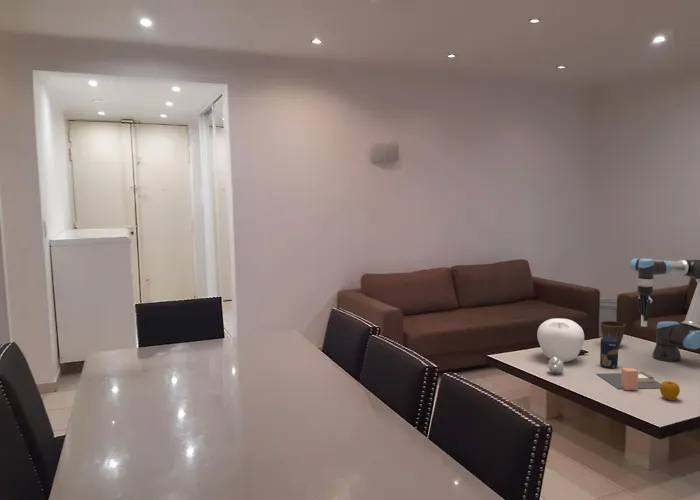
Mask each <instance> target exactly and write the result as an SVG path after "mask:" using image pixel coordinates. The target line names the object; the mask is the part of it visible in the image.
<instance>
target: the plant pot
mask: <svg viewBox="0 0 700 500" xmlns="http://www.w3.org/2000/svg"><path fill="white" fill-rule="evenodd" d="M625 329H626V323H624V322H620V321H612V320H606V321H605V320H604V321H601V322H600V331H601V335H602V338H604V337H610V338H615V339H617V340H618V348H620V345H621V343H622V340H623V338H624V333H625Z"/></svg>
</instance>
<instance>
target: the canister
mask: <svg viewBox="0 0 700 500" xmlns="http://www.w3.org/2000/svg"><path fill="white" fill-rule="evenodd" d="M599 353H600V356H599V364H600V366H601V367H603V368H607V369H617V368H618V365H619V362H618V361H619V347H618V340H617V339H615V338H610V337H604V338H603V337H602V338H601V339H600V350H599Z"/></svg>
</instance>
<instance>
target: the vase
mask: <svg viewBox="0 0 700 500" xmlns="http://www.w3.org/2000/svg"><path fill="white" fill-rule="evenodd" d="M536 335H537V341H538V344H539V346H540V349H541V351H542V352H543V354H544V356H546V357H547V358H549V359H551V358H552V357H557V358H558V359H560V360H562V361H563V363H568V362H570V361H572V360H575V359H576V358H577V357H578V355H579V353H580V352H581V350H582V347H583V345H584V342H585V333H584V330H583V328H582V326H580V325H579V324H578V323H577V322H575V321H574V320H572V319H568V318H558V317H557V318H550V319H547V320H545V321H544V322H542V323H541V324H540V325H539V327H538V329H537V332H536Z"/></svg>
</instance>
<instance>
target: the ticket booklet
mask: <svg viewBox="0 0 700 500" xmlns="http://www.w3.org/2000/svg"><path fill="white" fill-rule="evenodd" d="M639 373H641V374H638V383H639V382H654V380H655V377H654V376H653V375H651V374H650V373H648V372H645V371H640V372H639Z"/></svg>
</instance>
